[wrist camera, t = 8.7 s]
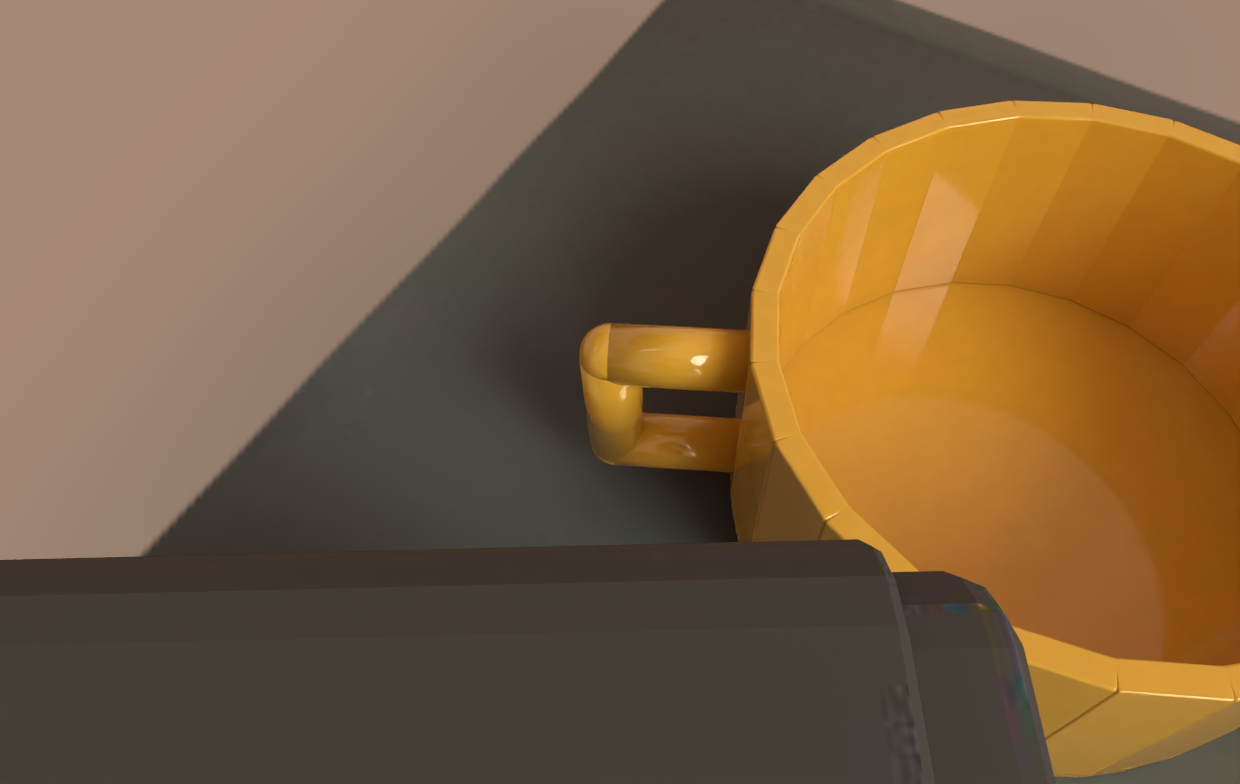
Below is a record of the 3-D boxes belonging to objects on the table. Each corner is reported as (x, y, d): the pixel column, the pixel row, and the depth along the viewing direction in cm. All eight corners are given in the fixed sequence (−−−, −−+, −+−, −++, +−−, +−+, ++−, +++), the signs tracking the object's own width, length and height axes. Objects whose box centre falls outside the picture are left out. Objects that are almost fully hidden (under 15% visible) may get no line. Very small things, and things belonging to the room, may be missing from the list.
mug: (1216, 293, 29) (1361, 110, 23) (1367, 805, 21) (1641, 732, 15) (617, 264, 30) (606, 85, 24) (562, 737, 23) (528, 646, 17)
